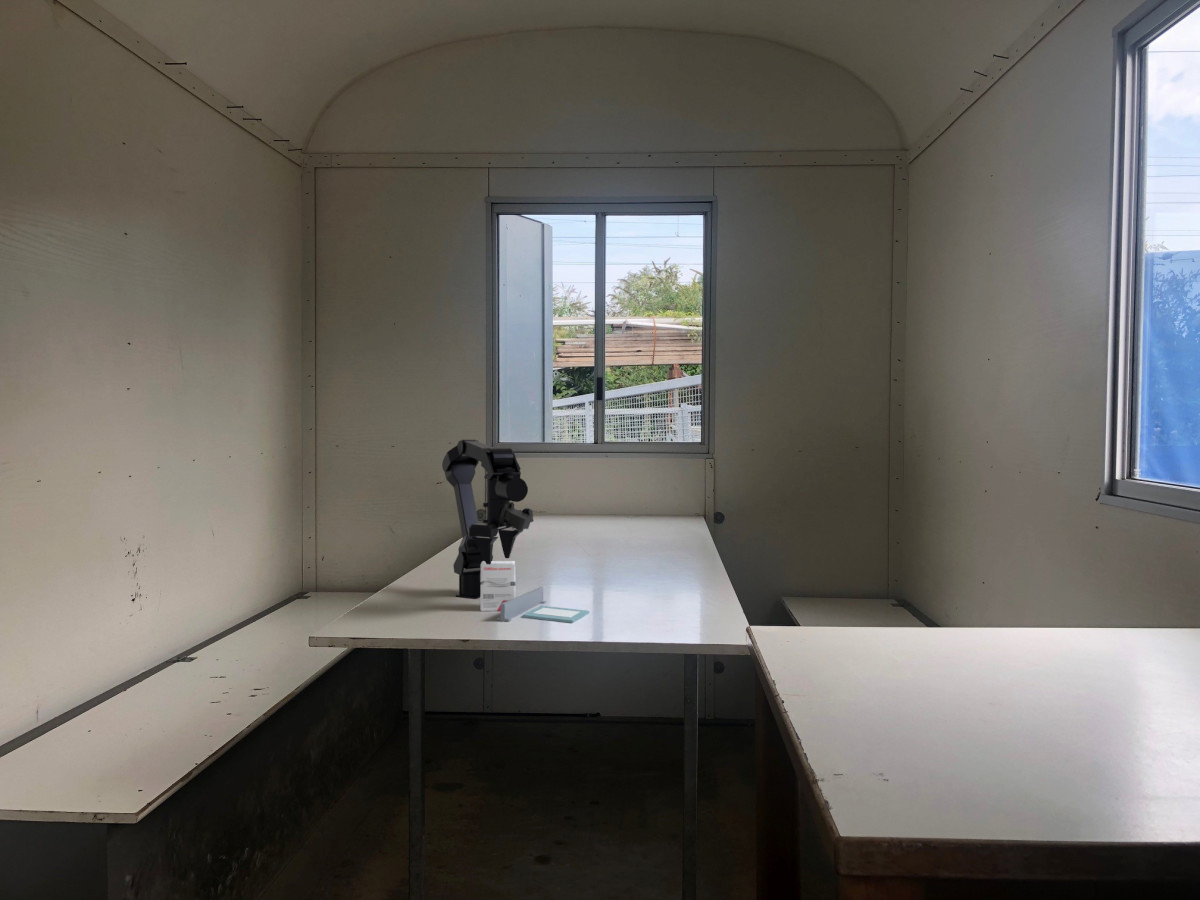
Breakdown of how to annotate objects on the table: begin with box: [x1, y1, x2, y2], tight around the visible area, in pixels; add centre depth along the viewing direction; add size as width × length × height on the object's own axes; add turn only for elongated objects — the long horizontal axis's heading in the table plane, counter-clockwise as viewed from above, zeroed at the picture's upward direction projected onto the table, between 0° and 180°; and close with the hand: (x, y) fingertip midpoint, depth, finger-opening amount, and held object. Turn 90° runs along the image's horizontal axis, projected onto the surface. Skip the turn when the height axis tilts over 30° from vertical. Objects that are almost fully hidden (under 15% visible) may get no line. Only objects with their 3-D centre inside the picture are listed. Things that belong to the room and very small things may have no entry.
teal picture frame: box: [521, 605, 590, 624], centre depth 179 cm, size 13×10×1 cm
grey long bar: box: [497, 586, 547, 622], centre depth 183 cm, size 3×20×4 cm, turn 158°
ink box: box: [479, 560, 516, 612], centre depth 185 cm, size 8×5×12 cm, turn 96°
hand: (498, 561), depth 185 cm, fingers open, 9 cm apart
